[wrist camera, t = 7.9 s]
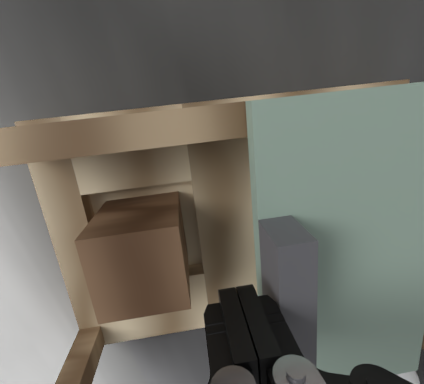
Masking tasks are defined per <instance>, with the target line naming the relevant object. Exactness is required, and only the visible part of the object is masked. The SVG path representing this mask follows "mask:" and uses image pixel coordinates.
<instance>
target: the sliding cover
mask: <svg viewBox="0 0 424 384" xmlns="http://www.w3.org/2000/svg"><path fill="white" fill-rule="evenodd" d="M245 104H246V120H247V135H248V151H249V167H250V182H251V198H252V213H253V229H254V245H255V260H256V276H257V292H258V296H262V295H268V296H270V297H271V298H272V299H273V300H274V301H275V302H276V303H277V305H278V307H279V309H280V311H281V314H282V315H283V317H284V319H285V321H286V323H287V325H288V327H289V329H290V331H291V333H292V334H293V336H294V338H295V340H296V342H297V344H298V346H299V348H300V350H301V352H302V354H303V356H304V357H305V358H306V359H308V360H309V361H310V362H312V363H313V364H314V365H315V367H316V368H318V369H320V370H322V371H325V372H329V373H336V374H343V375H350V373H351V371H352V369H353V368H354V367H355V366H357V365H360V364H373V365H377V366H380V367H382V368H384V369H386V370H388V371H390V372H392V373H394V374H401V373H407V372H412V371H417V370H418V366H419V359H420V353H421V347H422V341H423V335H424V82H417V83H407V84H398V85H389V86H380V87H371V88H362V89H353V90H344V91H334V92H325V93H316V94H307V95H298V96H289V97H280V98H270V99H261V100H252V101H245Z"/></svg>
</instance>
